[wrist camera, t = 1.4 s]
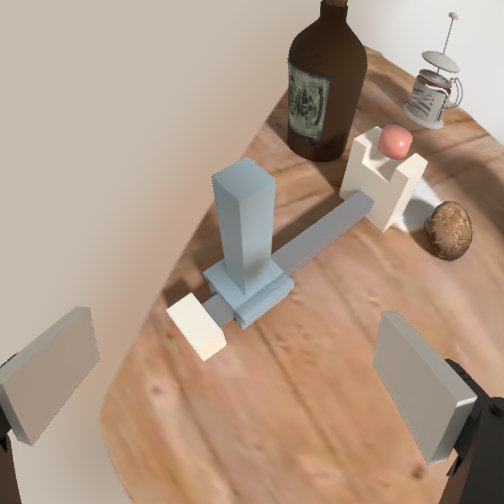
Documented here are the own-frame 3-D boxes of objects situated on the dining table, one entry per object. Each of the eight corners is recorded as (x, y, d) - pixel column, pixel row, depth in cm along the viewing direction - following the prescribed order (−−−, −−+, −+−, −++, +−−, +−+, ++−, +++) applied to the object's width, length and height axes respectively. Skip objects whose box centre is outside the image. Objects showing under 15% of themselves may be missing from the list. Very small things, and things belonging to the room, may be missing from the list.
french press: (421, 101, 59) (447, 6, 38) (457, 131, 53) (494, 32, 32) (393, 105, 57) (418, -1, 36) (431, 137, 51) (471, 25, 30)
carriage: (252, 257, 36) (248, 135, 22) (291, 298, 33) (315, 184, 19) (207, 288, 34) (175, 173, 20) (245, 333, 31) (236, 236, 17)
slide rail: (360, 180, 44) (376, 126, 36) (402, 214, 41) (428, 162, 32) (169, 315, 34) (140, 270, 25) (212, 372, 30) (194, 346, 22)
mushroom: (413, 198, 38) (450, 191, 32) (445, 210, 41) (478, 206, 35) (411, 258, 38) (449, 257, 32) (443, 264, 40) (478, 264, 35)
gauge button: (387, 136, 35) (392, 120, 32) (411, 153, 33) (417, 137, 31) (371, 146, 33) (377, 129, 31) (396, 164, 32) (403, 147, 30)
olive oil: (314, 118, 53) (328, -14, 32) (361, 148, 48) (393, 6, 27) (269, 139, 49) (273, -12, 28) (318, 174, 45) (344, 6, 24)
